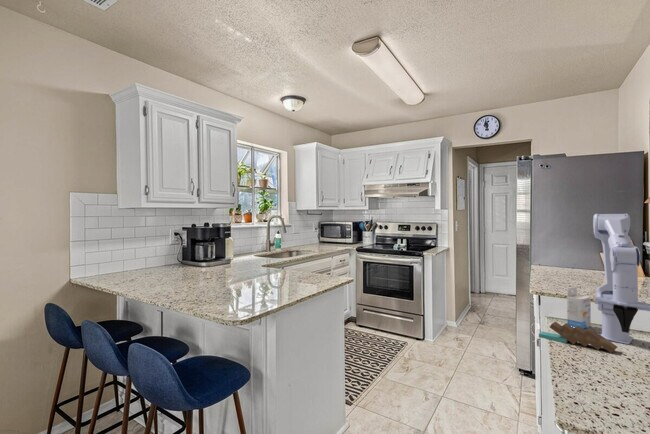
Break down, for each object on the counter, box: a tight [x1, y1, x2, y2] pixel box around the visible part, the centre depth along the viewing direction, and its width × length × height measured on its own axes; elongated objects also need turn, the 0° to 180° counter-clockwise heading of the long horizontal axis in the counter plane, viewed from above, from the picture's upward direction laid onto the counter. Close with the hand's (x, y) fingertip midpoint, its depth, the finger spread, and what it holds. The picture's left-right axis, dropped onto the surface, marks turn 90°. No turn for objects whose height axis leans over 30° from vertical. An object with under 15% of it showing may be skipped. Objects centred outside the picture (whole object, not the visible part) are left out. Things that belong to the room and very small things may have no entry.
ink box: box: [566, 286, 592, 330], centre depth 131 cm, size 8×5×15 cm, turn 123°
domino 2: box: [549, 321, 578, 345], centre depth 114 cm, size 2×4×8 cm
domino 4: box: [572, 326, 603, 351], centre depth 110 cm, size 2×4×8 cm
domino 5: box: [584, 327, 618, 354], centre depth 107 cm, size 2×4×8 cm
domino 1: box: [538, 330, 569, 344], centre depth 117 cm, size 2×4×8 cm
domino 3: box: [560, 323, 590, 348], centre depth 112 cm, size 2×4×8 cm
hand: (625, 331), depth 103 cm, fingers closed
